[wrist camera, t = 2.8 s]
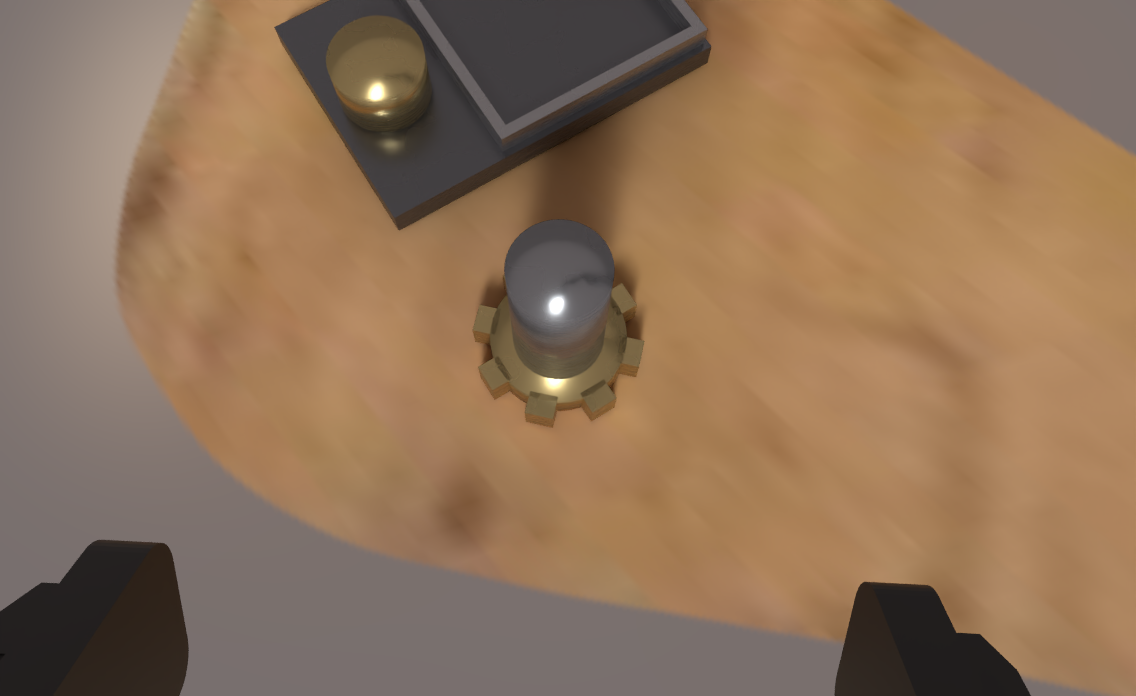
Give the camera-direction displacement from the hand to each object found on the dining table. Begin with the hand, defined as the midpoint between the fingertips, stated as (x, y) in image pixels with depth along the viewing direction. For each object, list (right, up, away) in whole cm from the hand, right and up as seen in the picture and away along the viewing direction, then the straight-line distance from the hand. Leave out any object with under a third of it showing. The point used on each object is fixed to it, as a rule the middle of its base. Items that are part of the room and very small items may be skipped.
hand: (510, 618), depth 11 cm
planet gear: (0, +3, +27) cm, 27 cm away
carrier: (-3, +17, +32) cm, 36 cm away
